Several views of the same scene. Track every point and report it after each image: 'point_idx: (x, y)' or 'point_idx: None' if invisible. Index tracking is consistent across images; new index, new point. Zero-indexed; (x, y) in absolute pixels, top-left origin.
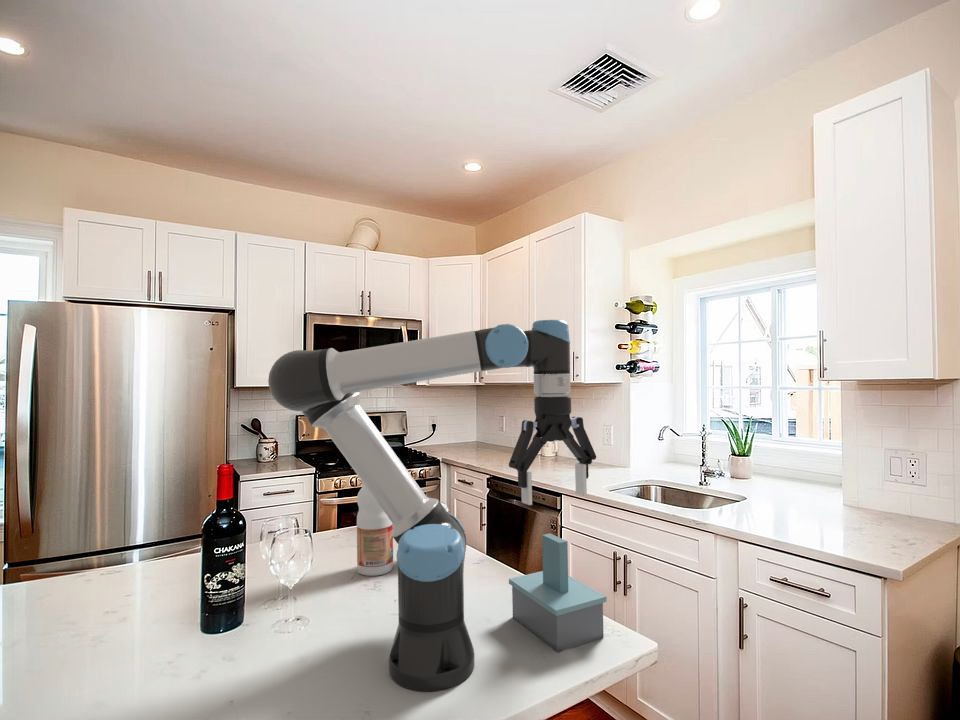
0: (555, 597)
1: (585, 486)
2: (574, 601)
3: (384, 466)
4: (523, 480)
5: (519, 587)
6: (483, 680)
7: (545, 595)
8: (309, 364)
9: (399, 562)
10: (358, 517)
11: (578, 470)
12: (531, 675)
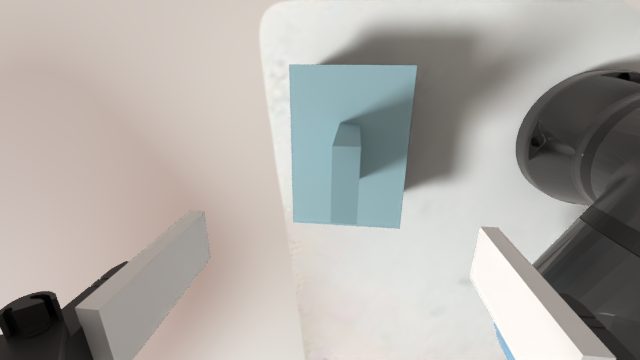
0: (378, 114)
1: (172, 230)
2: (359, 79)
3: None
4: (592, 325)
5: (403, 191)
6: (547, 63)
7: (389, 132)
8: None
9: None
10: None
11: (141, 316)
12: (478, 36)
